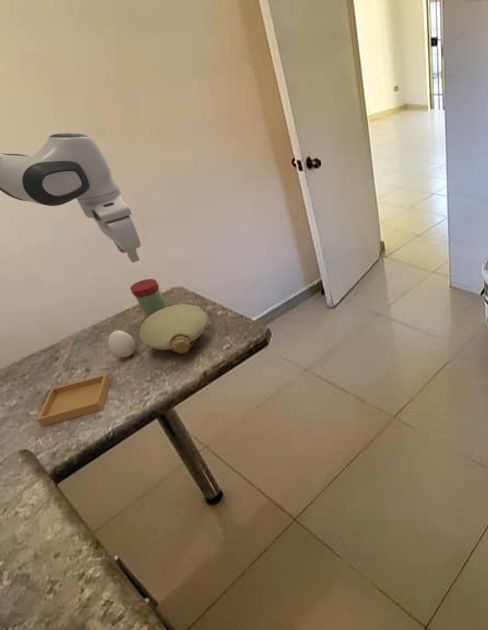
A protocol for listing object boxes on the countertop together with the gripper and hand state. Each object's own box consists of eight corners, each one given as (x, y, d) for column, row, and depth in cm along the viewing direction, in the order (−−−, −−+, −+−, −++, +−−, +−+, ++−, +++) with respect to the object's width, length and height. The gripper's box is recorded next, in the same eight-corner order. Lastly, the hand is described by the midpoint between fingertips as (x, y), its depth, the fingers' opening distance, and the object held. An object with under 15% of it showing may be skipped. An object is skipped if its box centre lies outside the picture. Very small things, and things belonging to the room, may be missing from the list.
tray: (42, 426, 91) (36, 419, 89) (56, 394, 99) (50, 388, 97) (102, 409, 94) (97, 402, 93) (111, 380, 102) (106, 373, 100)
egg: (140, 357, 108) (126, 333, 104) (116, 364, 106) (101, 341, 102) (139, 346, 112) (127, 323, 108) (116, 353, 110) (103, 330, 106)
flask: (207, 317, 121) (223, 351, 109) (144, 339, 114) (155, 378, 102) (195, 289, 115) (211, 322, 103) (129, 311, 109) (138, 349, 96)
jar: (147, 326, 119) (130, 294, 113) (149, 315, 124) (133, 284, 118) (170, 321, 121) (155, 288, 115) (172, 310, 126) (157, 278, 120)
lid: (131, 299, 114) (128, 293, 113) (135, 288, 119) (132, 282, 118) (157, 293, 116) (155, 287, 115) (160, 282, 121) (157, 276, 120)
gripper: (77, 199, 108) (104, 250, 116) (101, 217, 96) (129, 272, 104) (105, 192, 111) (129, 241, 119) (131, 209, 99) (156, 262, 107)
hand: (129, 256), depth 111 cm, fingers open, 7 cm apart
